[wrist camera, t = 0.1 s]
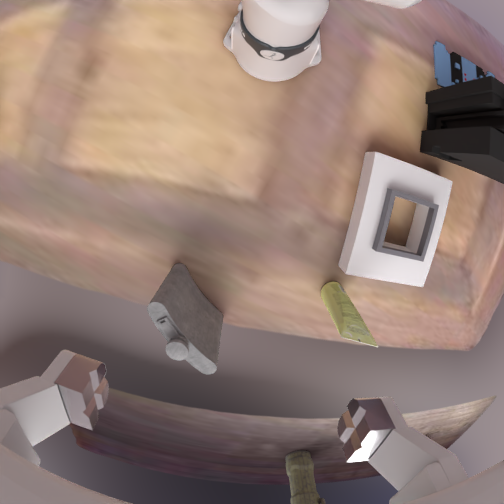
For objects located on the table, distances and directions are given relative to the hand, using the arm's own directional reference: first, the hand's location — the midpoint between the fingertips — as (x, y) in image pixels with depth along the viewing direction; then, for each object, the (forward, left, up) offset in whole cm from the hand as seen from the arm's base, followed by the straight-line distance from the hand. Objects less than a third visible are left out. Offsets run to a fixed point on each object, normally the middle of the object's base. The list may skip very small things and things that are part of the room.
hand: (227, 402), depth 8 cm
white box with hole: (-3, +32, -49) cm, 58 cm away
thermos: (+78, +33, -49) cm, 98 cm away
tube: (+15, +22, -49) cm, 56 cm away
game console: (-35, +51, -49) cm, 79 cm away
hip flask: (+21, -6, -49) cm, 54 cm away
